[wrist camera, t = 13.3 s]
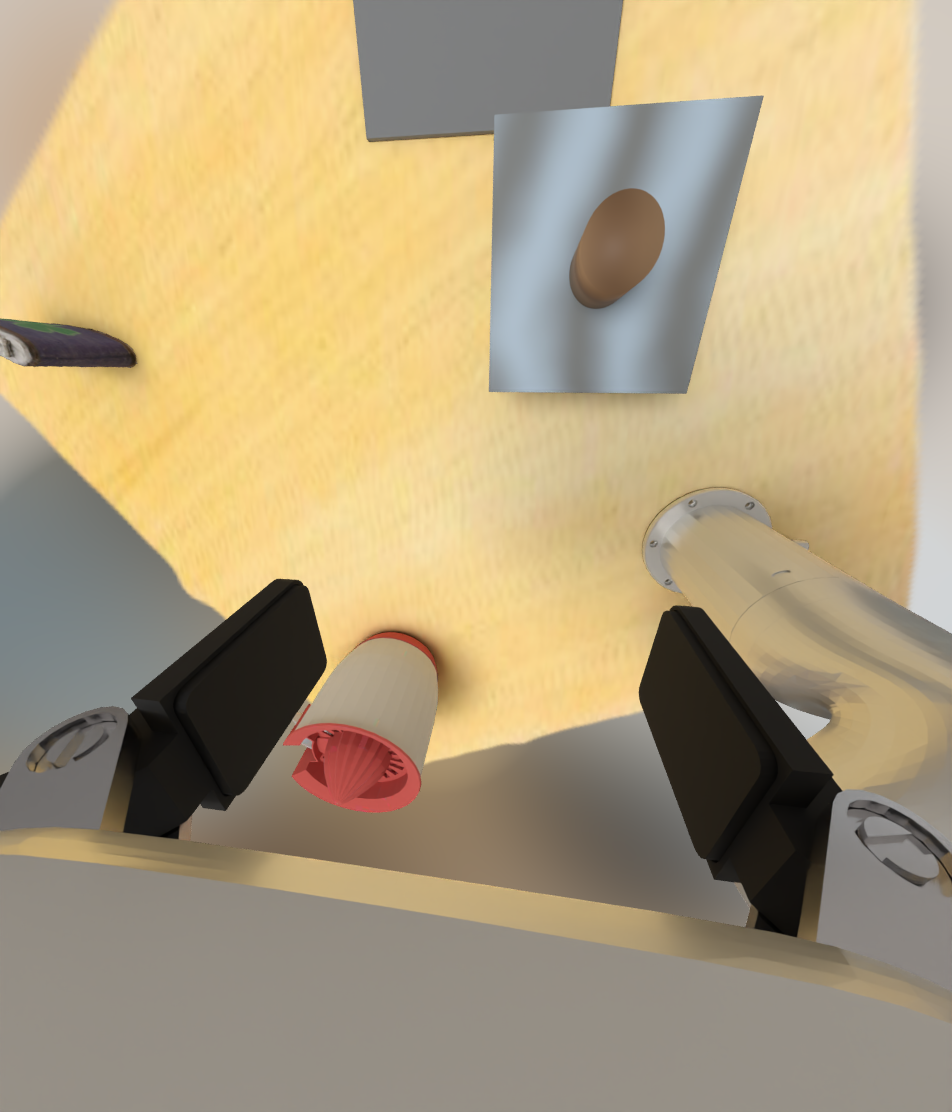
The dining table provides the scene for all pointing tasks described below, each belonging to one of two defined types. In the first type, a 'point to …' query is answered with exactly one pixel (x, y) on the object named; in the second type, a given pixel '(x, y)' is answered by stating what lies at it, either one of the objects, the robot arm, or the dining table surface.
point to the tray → (480, 62)
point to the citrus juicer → (370, 726)
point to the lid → (610, 241)
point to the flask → (61, 346)
